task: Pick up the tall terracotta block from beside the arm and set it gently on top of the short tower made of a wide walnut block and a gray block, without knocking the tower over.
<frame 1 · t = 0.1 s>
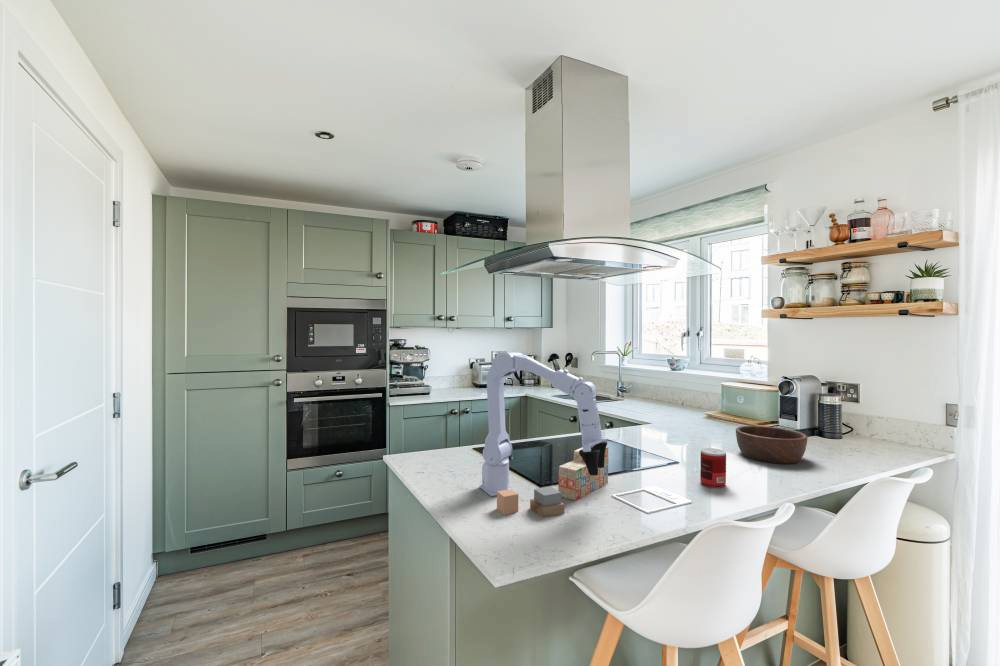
hand: (597, 471, 131), 11 cm above the countertop, tool pointing down, fingers open, 7 cm apart
wooden bowl: (770, 457, 186), on the countertop
stack of blocks: (584, 490, 147), on the countertop
terracotta block: (507, 510, 129), on the countertop
canned food: (712, 484, 153), on the countertop
walnut base block: (547, 512, 129), on the countertop, touching gray top block
photo frame: (651, 501, 138), on the countertop
gray top block: (547, 501, 129), point 3 cm above the countertop, touching walnut base block
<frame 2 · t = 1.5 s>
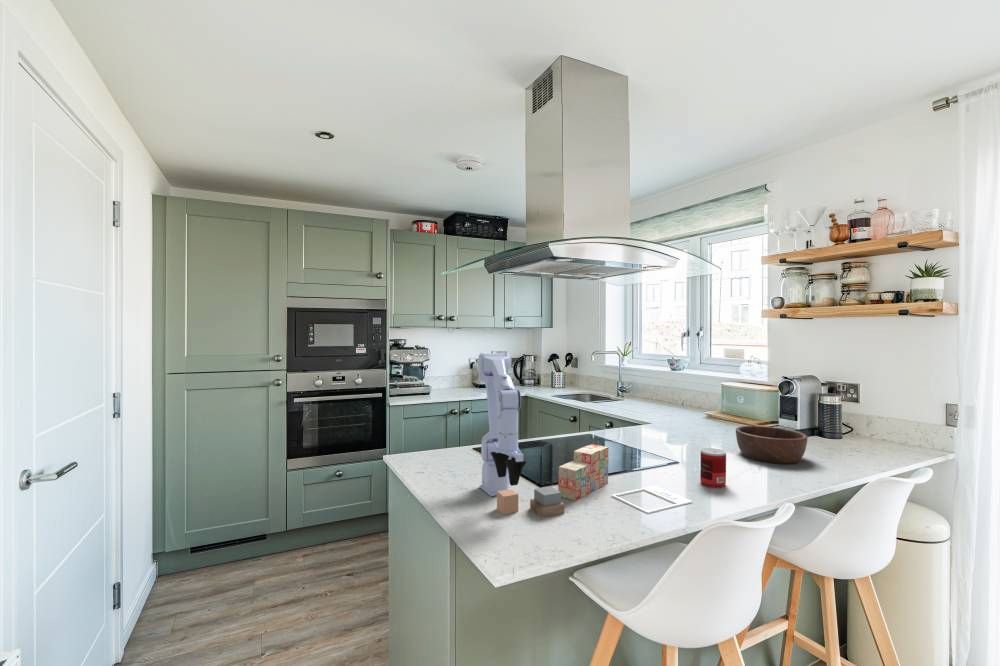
hand: (507, 480, 129), 8 cm above the countertop, tool pointing down, fingers open, 7 cm apart
nothing on the countertop moved.
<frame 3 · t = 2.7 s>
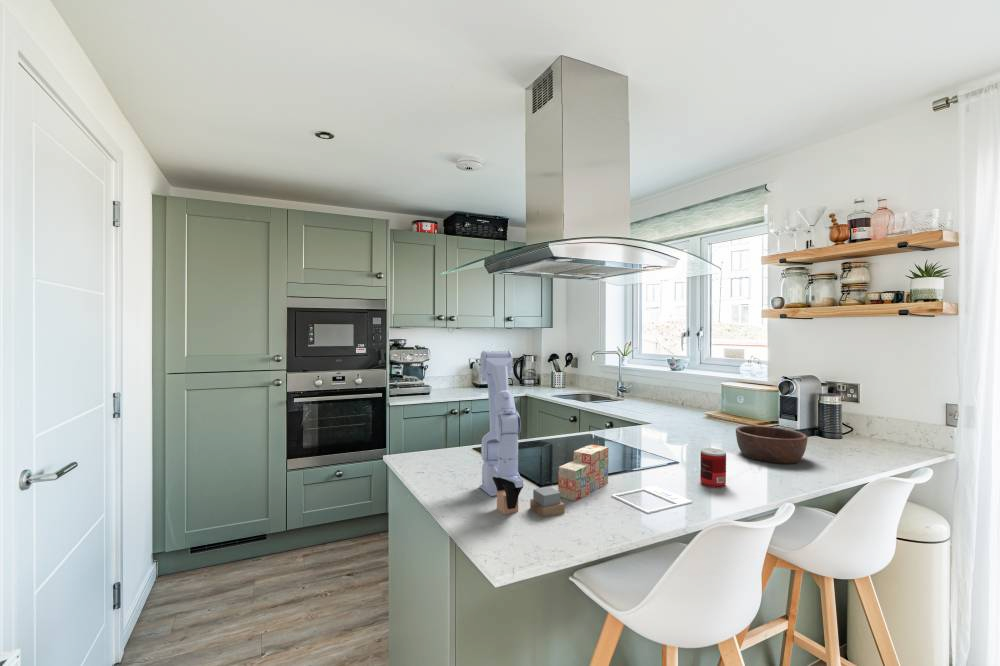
hand: (507, 505, 129), 1 cm above the countertop, tool pointing down, fingers closed on terracotta block, 4 cm apart
terracotta block: (507, 510, 129), on the countertop, touching gripper
everything else where it was.
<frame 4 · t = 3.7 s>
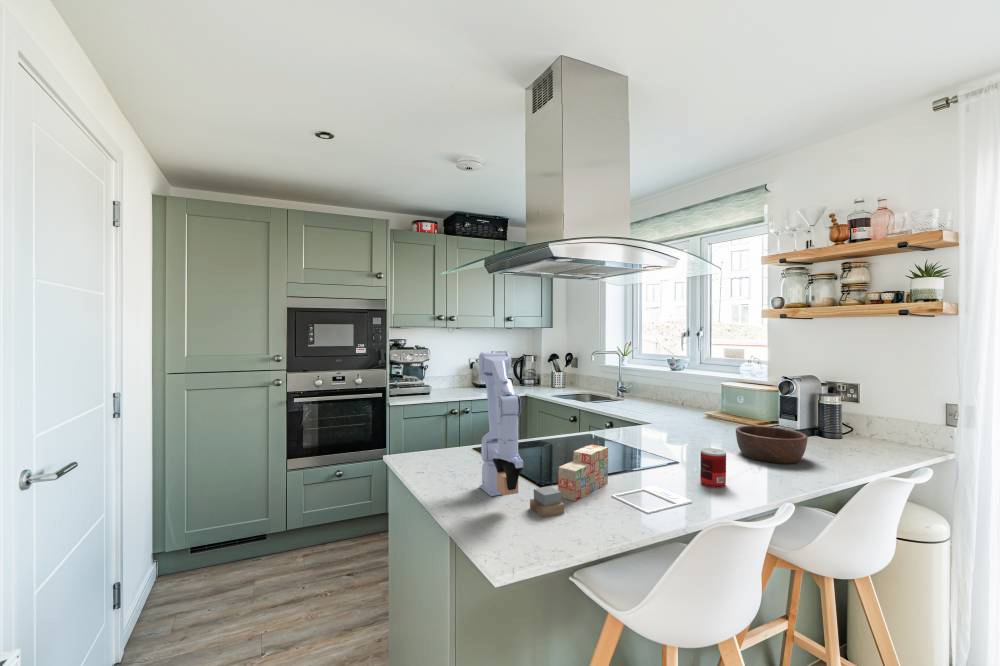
hand: (507, 486, 129), 7 cm above the countertop, tool pointing down, fingers closed on terracotta block, 4 cm apart
terracotta block: (507, 491, 129), point 5 cm above the countertop, touching gripper
everything else where it was.
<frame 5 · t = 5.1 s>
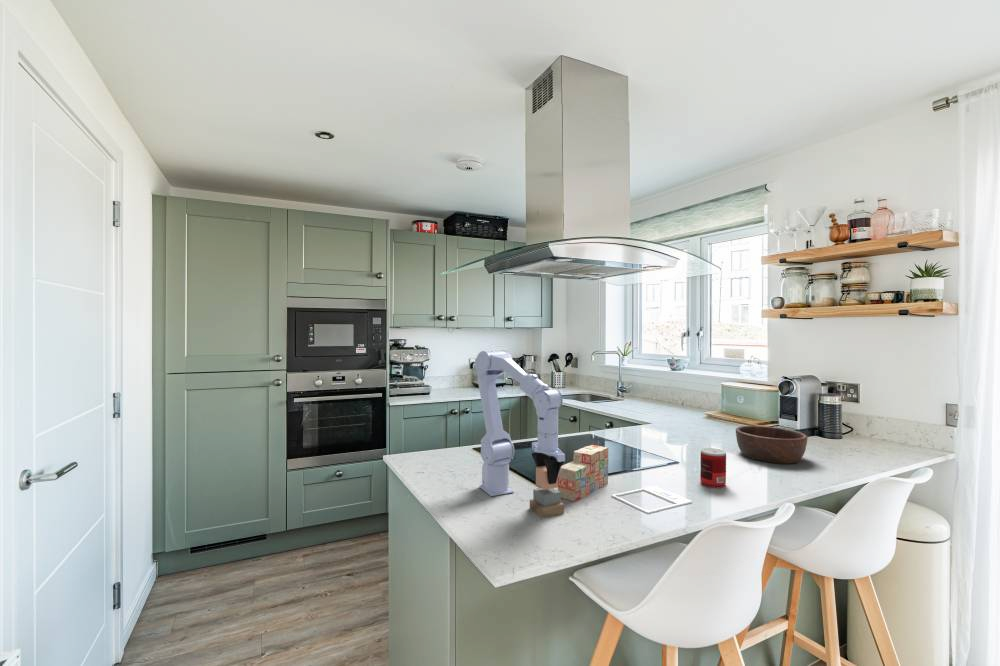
hand: (547, 480, 129), 8 cm above the countertop, tool pointing down, fingers closed on terracotta block, 4 cm apart
terracotta block: (546, 486, 129), point 7 cm above the countertop, touching gripper
everything else where it was.
when the fingers open (8 cm above the countertop, at t = 5.5 s): terracotta block drops 1 cm, resting on gray top block.
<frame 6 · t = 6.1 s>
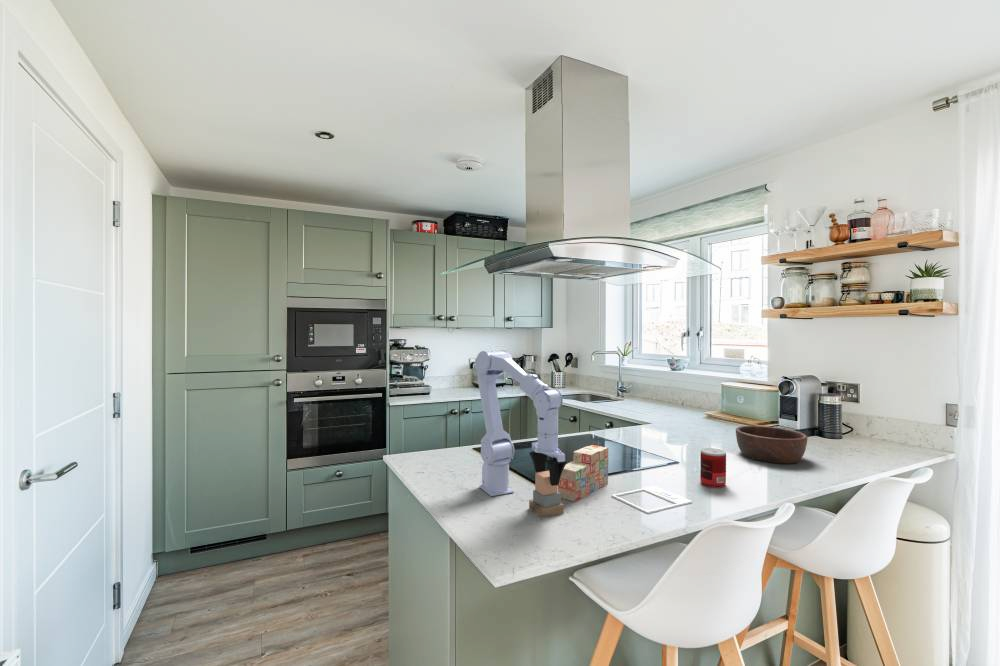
hand: (547, 480, 129), 8 cm above the countertop, tool pointing down, fingers open, 7 cm apart
terracotta block: (546, 491, 129), point 5 cm above the countertop, touching gray top block
gray top block: (546, 502, 129), point 2 cm above the countertop, touching terracotta block, walnut base block
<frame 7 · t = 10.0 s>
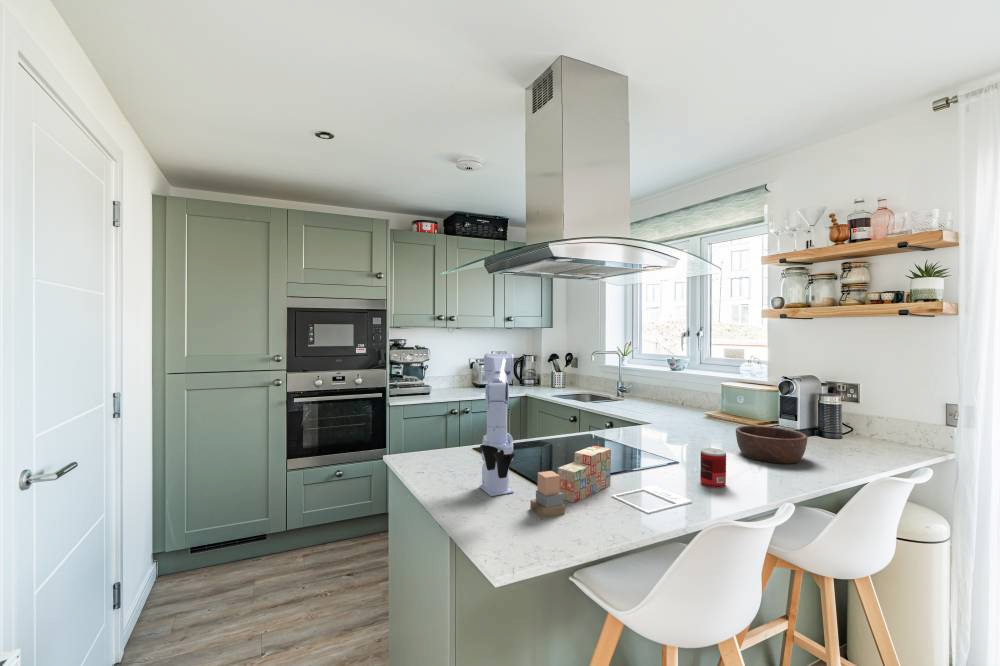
hand: (496, 473, 129), 10 cm above the countertop, tool pointing down, fingers open, 7 cm apart
at the end: terracotta block 0.4 cm off-centre on the gray top block, point 3.0 cm above the gray top block's base; gray top block 0.6 cm off-centre on the walnut base block, point 3.0 cm above the walnut base block's base; terracotta block tilted 0° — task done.
